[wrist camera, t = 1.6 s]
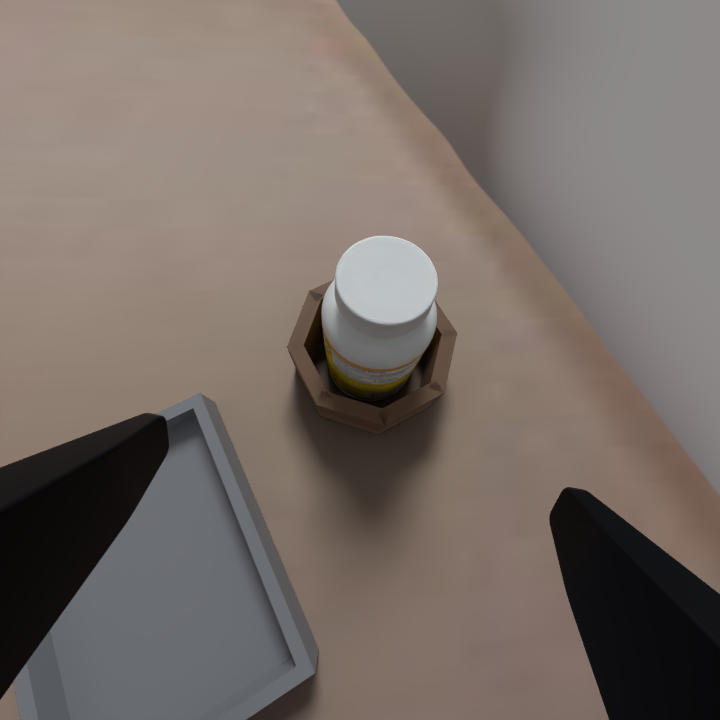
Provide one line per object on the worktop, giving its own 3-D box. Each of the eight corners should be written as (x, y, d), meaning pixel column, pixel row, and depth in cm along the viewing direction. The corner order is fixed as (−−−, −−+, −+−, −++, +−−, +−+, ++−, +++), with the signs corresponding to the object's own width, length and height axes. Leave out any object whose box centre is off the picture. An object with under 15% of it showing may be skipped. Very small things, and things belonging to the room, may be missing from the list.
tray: (318, 649, 17) (315, 673, 15) (89, 801, 15) (46, 854, 13) (214, 402, 21) (200, 393, 19) (19, 496, 19) (-23, 497, 17)
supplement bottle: (386, 418, 21) (418, 370, 12) (310, 376, 22) (287, 301, 13) (424, 346, 23) (477, 257, 14) (353, 309, 24) (359, 201, 15)
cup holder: (462, 388, 22) (483, 371, 19) (340, 455, 20) (339, 450, 17) (393, 281, 24) (401, 250, 21) (278, 334, 23) (267, 308, 20)
